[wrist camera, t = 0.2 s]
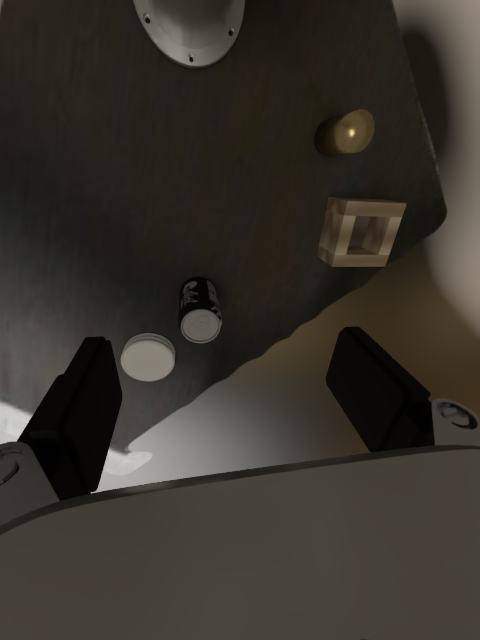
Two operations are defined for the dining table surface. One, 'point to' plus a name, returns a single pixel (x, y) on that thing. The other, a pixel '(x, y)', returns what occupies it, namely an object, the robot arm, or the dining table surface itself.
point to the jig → (359, 231)
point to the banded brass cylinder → (345, 133)
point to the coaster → (148, 357)
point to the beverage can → (199, 311)
